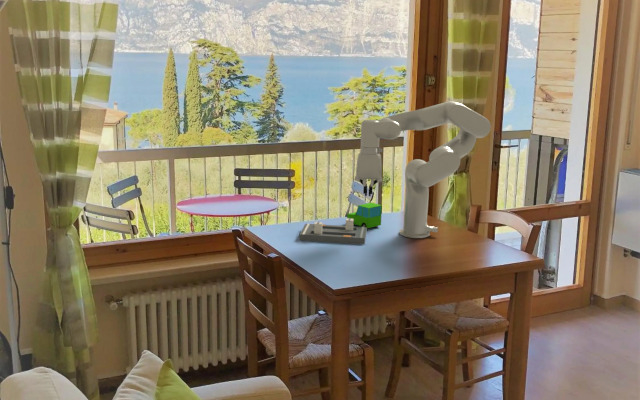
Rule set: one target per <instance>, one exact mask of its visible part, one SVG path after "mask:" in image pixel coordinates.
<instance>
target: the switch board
mask: <svg viewBox="0 0 640 400" xmlns="http://www.w3.org/2000/svg"><path fill="white" fill-rule="evenodd" d="M345 229H346V225H337V224H336V225H333V224H332V225H331V224H323V226H322V234H314V223H309V222H308V223H305V224H304V226H303V227H302V229H301V231H300V233H299V240H298V241H305V242H306V241H307V242H322V243H338V244H339V243H340V244H356V245H365V244H366V239H367V232H368V229H367V227H363V226H356V225H354V226H353V230H345Z"/></svg>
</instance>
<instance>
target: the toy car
mask: <svg viewBox="0 0 640 400" xmlns="http://www.w3.org/2000/svg"><path fill="white" fill-rule="evenodd" d="M382 207H383V205H382V204H379V203H375V202H369V203H364V204H363V203H362V204H358V206H357V209H356V211H355V212H352V213H351V212H350V213H347V215H346V216H347V217H346V218H348V219H349V218H351V219H354V222H353V226H358V227H362V226H363V227H367V230H368V229H370V228H378V226H381V225H382V214H383V212H382V210H383V208H382Z"/></svg>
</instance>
